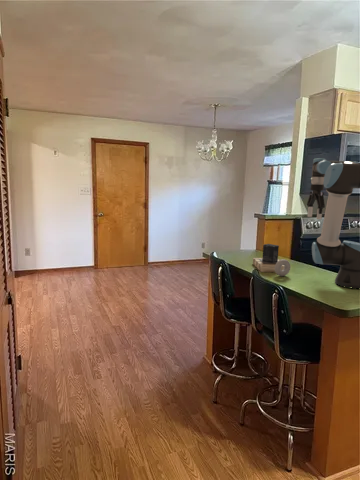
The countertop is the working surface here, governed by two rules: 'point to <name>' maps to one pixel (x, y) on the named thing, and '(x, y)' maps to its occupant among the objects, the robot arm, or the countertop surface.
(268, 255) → the box
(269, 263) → the stack base
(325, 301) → the countertop surface
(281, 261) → the grey wheel
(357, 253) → the robot arm
